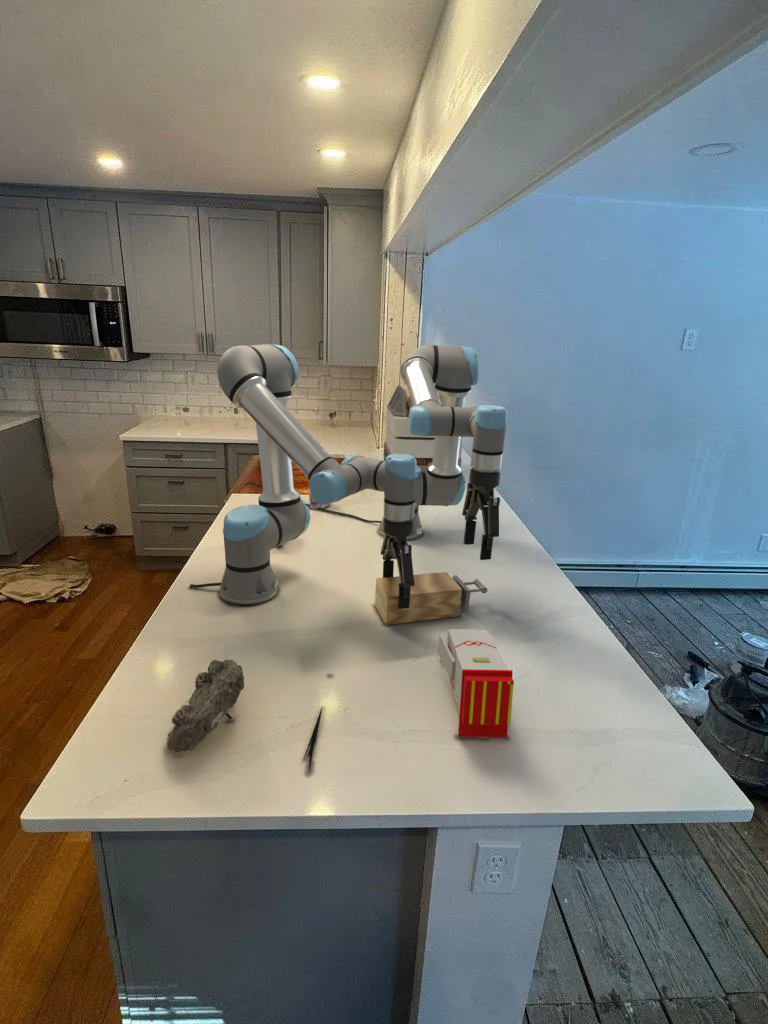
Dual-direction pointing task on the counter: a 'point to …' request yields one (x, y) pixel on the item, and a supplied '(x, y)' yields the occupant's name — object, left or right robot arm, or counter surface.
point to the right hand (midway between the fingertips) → (476, 551)
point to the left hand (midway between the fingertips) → (395, 595)
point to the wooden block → (419, 598)
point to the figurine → (316, 503)
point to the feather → (313, 740)
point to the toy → (478, 682)
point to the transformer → (407, 432)
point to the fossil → (206, 705)
